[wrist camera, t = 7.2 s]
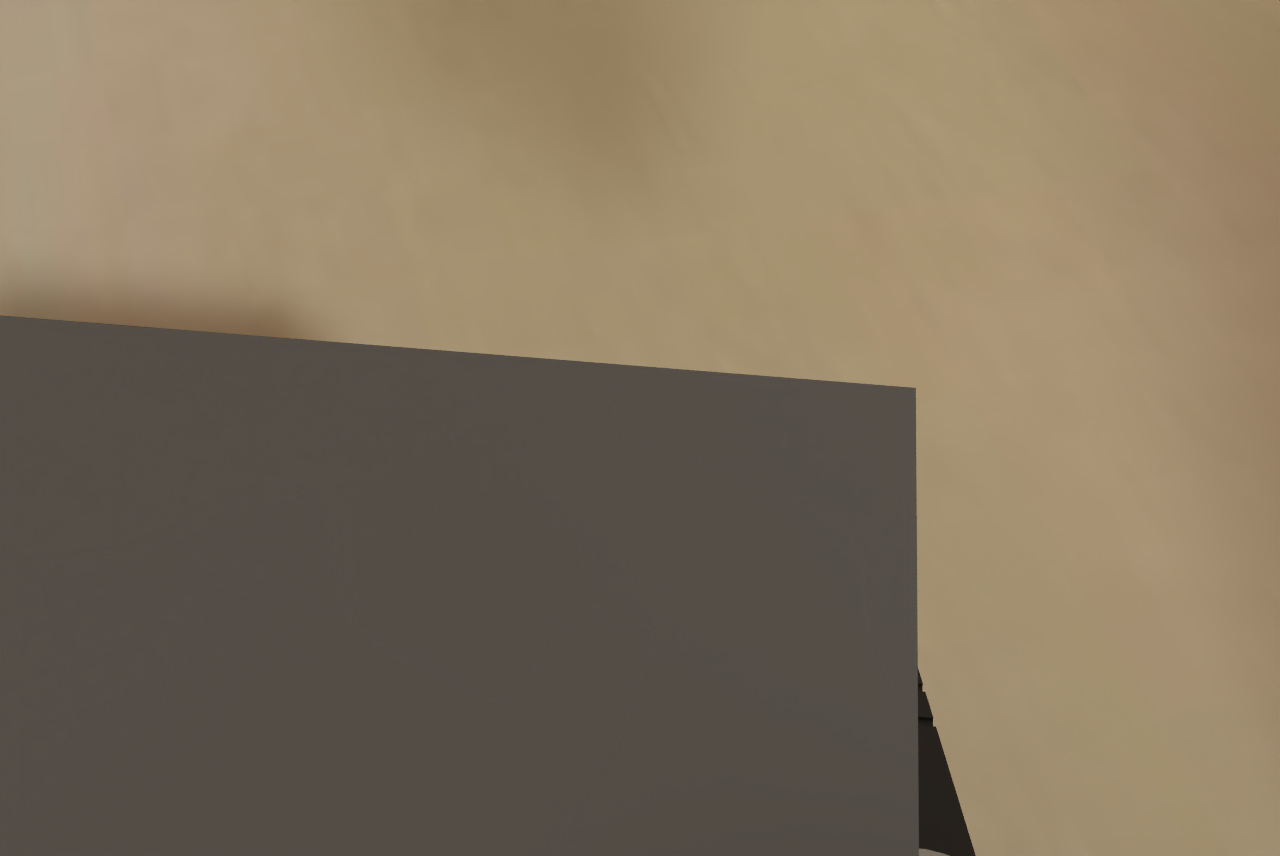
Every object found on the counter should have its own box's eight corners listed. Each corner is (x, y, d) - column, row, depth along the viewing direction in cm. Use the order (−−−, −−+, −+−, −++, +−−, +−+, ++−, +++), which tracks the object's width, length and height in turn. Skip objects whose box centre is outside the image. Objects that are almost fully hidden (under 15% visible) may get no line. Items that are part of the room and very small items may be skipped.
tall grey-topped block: (708, 643, 15) (917, 388, 5) (689, 974, 14) (925, 1685, 3) (412, 619, 15) (-54, 310, 5) (364, 947, 14) (-444, 1564, 3)
